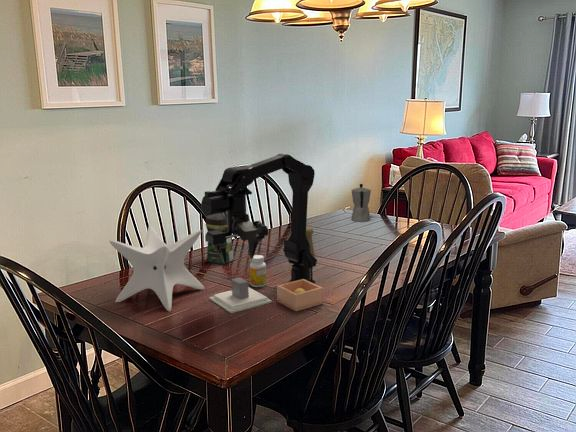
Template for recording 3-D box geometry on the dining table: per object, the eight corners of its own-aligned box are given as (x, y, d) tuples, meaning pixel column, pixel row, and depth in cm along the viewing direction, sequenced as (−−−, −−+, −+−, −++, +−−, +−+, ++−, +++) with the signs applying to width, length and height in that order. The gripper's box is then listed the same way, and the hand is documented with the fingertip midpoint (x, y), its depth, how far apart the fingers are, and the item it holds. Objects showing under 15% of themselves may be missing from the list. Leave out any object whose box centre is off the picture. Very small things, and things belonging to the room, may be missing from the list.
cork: (305, 251, 219) (304, 224, 216) (317, 254, 215) (317, 226, 212) (295, 255, 214) (295, 227, 212) (308, 257, 210) (307, 229, 208)
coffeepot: (350, 217, 277) (351, 181, 273) (369, 217, 276) (370, 181, 272) (351, 224, 262) (352, 187, 258) (371, 224, 261) (372, 187, 257)
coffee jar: (204, 262, 207) (201, 214, 202) (215, 256, 214) (213, 210, 209) (225, 265, 202) (223, 216, 198) (236, 259, 209) (234, 212, 205)
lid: (247, 289, 176) (246, 271, 175) (267, 300, 166) (266, 281, 165) (214, 297, 169) (213, 279, 168) (232, 309, 160) (231, 290, 158)
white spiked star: (154, 282, 186) (149, 225, 182) (204, 289, 179) (201, 230, 174) (114, 303, 168) (108, 240, 164) (169, 311, 161) (164, 246, 156)
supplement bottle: (248, 283, 183) (247, 255, 181) (263, 281, 185) (262, 253, 183) (253, 288, 178) (252, 259, 176) (268, 286, 180) (267, 257, 178)
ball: (301, 296, 168) (301, 285, 167) (308, 300, 165) (308, 288, 164) (291, 299, 166) (291, 288, 165) (298, 302, 163) (298, 291, 163)
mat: (248, 289, 177) (248, 287, 177) (271, 302, 166) (271, 300, 166) (209, 299, 170) (209, 297, 170) (231, 313, 159) (230, 311, 158)
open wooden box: (303, 293, 173) (303, 278, 172) (323, 303, 165) (323, 287, 164) (277, 301, 167) (276, 285, 166) (296, 311, 159) (295, 295, 158)
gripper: (220, 219, 150) (223, 274, 154) (277, 211, 160) (278, 262, 164) (203, 213, 159) (205, 264, 163) (258, 205, 169) (259, 253, 173)
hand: (238, 261), depth 165 cm, fingers open, 9 cm apart
